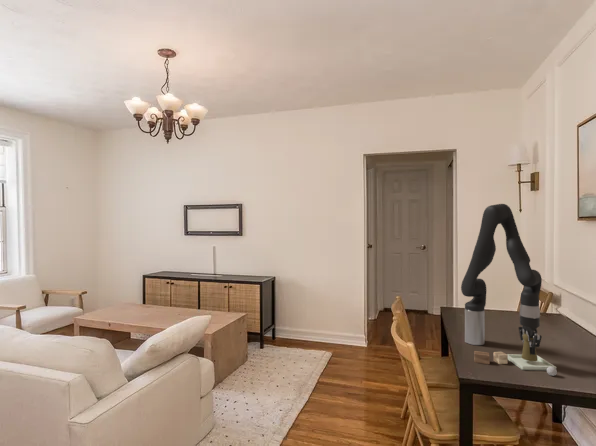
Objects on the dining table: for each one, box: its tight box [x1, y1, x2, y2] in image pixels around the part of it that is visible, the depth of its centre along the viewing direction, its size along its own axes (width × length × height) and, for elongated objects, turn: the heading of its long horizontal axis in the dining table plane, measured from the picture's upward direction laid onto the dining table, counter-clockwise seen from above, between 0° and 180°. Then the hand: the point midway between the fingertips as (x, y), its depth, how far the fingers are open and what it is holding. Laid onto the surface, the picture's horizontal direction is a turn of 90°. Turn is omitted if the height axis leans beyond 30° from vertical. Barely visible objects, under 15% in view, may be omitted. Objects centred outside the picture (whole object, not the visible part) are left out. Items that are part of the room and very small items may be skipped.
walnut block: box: [473, 350, 491, 365], centre depth 167 cm, size 4×6×4 cm, turn 67°
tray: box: [507, 353, 557, 371], centre depth 164 cm, size 14×14×2 cm
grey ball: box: [546, 367, 558, 377], centre depth 152 cm, size 4×4×4 cm
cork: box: [521, 334, 538, 361], centre depth 164 cm, size 6×6×11 cm
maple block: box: [493, 351, 509, 365], centre depth 167 cm, size 4×4×4 cm
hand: (529, 353), depth 164 cm, fingers closed on cork, 3 cm apart
